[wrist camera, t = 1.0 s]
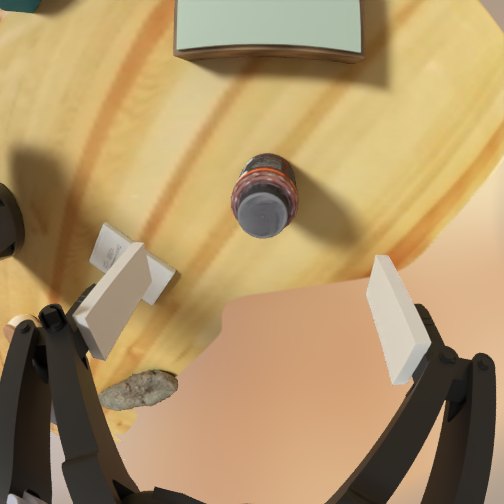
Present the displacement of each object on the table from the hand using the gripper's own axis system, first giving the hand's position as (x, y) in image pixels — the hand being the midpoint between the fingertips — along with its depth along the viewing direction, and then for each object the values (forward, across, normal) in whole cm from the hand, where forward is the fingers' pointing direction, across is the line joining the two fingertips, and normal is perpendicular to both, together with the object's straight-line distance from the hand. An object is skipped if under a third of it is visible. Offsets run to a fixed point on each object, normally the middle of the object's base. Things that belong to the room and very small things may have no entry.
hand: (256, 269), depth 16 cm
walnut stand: (+19, 0, +21) cm, 28 cm away
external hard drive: (+19, -20, -13) cm, 31 cm away
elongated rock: (+19, -31, -50) cm, 62 cm away
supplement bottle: (+19, 0, 0) cm, 19 cm away
